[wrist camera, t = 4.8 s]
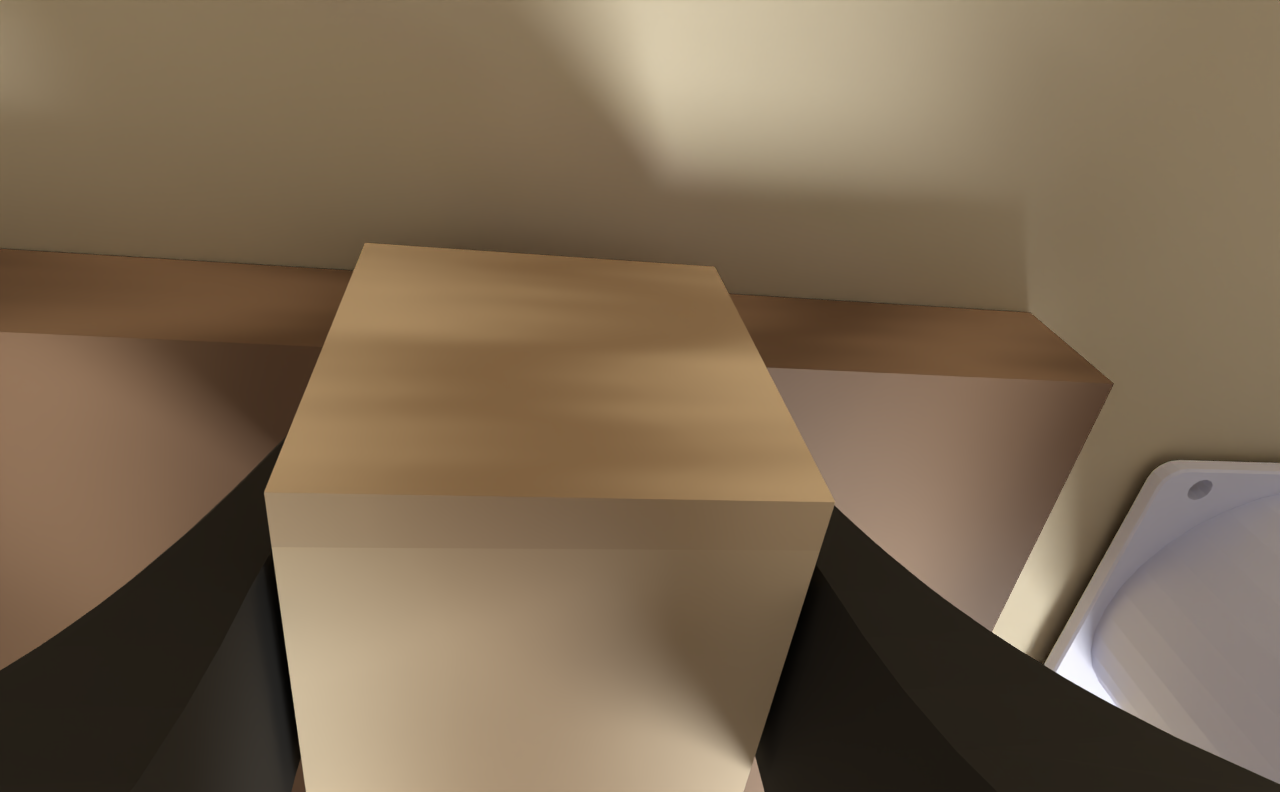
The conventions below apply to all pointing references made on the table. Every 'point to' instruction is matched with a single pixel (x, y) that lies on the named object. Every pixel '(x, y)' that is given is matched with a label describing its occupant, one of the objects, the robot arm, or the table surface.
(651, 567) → the beige block
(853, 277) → the table surface
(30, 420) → the walnut board
